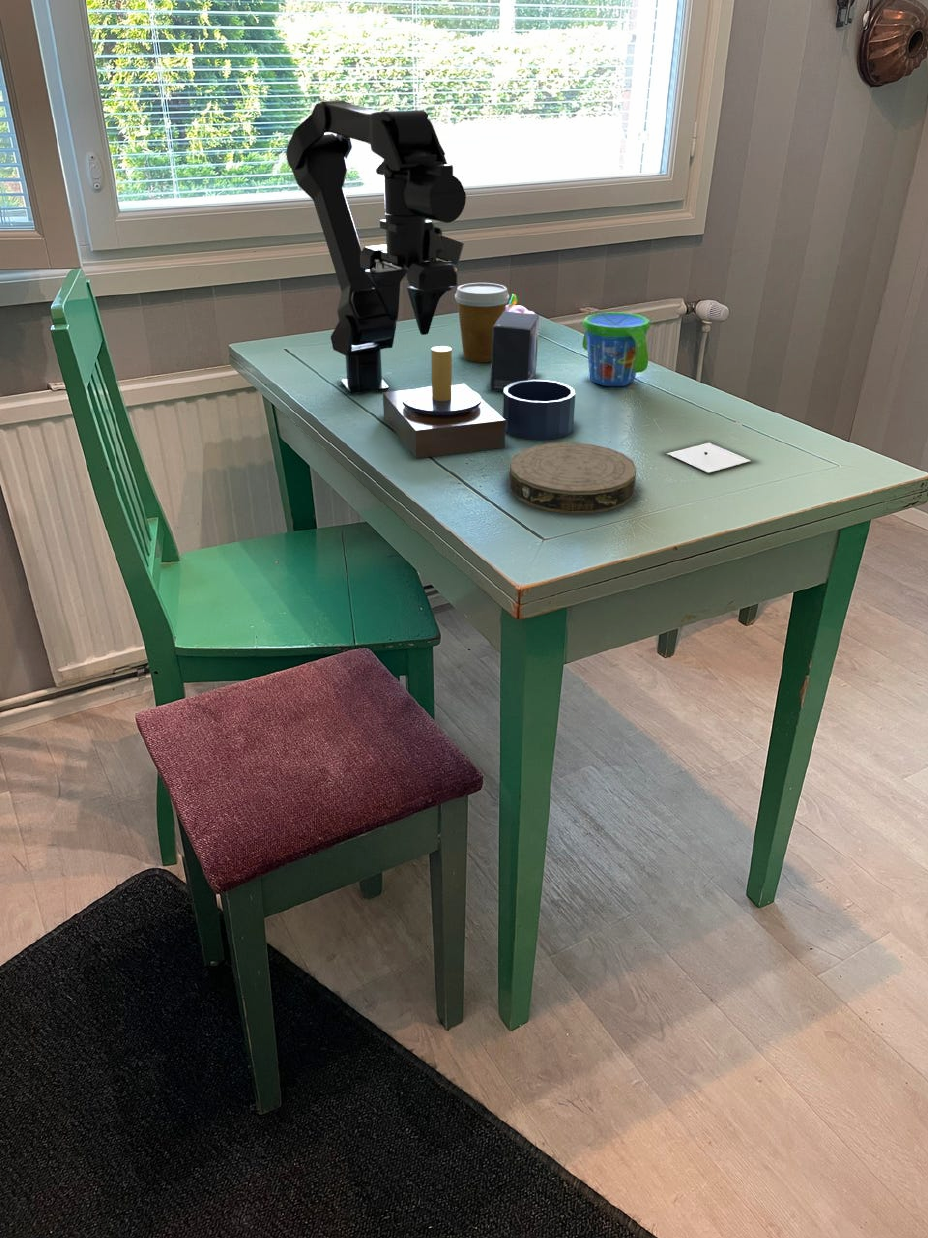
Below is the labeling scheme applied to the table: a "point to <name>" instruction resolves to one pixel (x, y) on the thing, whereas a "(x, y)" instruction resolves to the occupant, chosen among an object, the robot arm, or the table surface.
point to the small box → (514, 349)
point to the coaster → (708, 457)
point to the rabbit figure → (516, 308)
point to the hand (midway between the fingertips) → (408, 327)
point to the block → (444, 428)
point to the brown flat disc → (572, 477)
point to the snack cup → (615, 347)
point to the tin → (538, 409)
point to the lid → (441, 390)
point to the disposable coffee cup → (479, 317)
